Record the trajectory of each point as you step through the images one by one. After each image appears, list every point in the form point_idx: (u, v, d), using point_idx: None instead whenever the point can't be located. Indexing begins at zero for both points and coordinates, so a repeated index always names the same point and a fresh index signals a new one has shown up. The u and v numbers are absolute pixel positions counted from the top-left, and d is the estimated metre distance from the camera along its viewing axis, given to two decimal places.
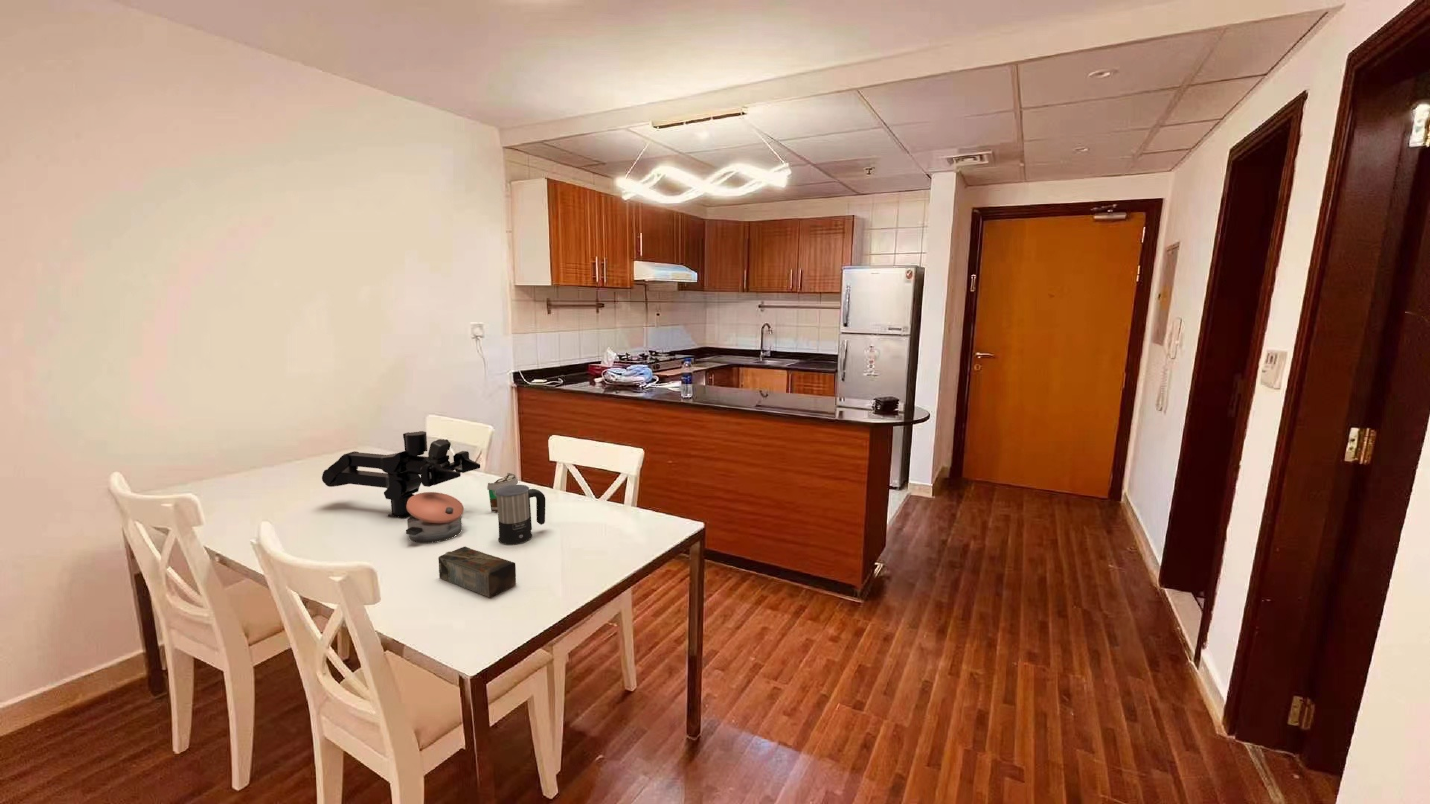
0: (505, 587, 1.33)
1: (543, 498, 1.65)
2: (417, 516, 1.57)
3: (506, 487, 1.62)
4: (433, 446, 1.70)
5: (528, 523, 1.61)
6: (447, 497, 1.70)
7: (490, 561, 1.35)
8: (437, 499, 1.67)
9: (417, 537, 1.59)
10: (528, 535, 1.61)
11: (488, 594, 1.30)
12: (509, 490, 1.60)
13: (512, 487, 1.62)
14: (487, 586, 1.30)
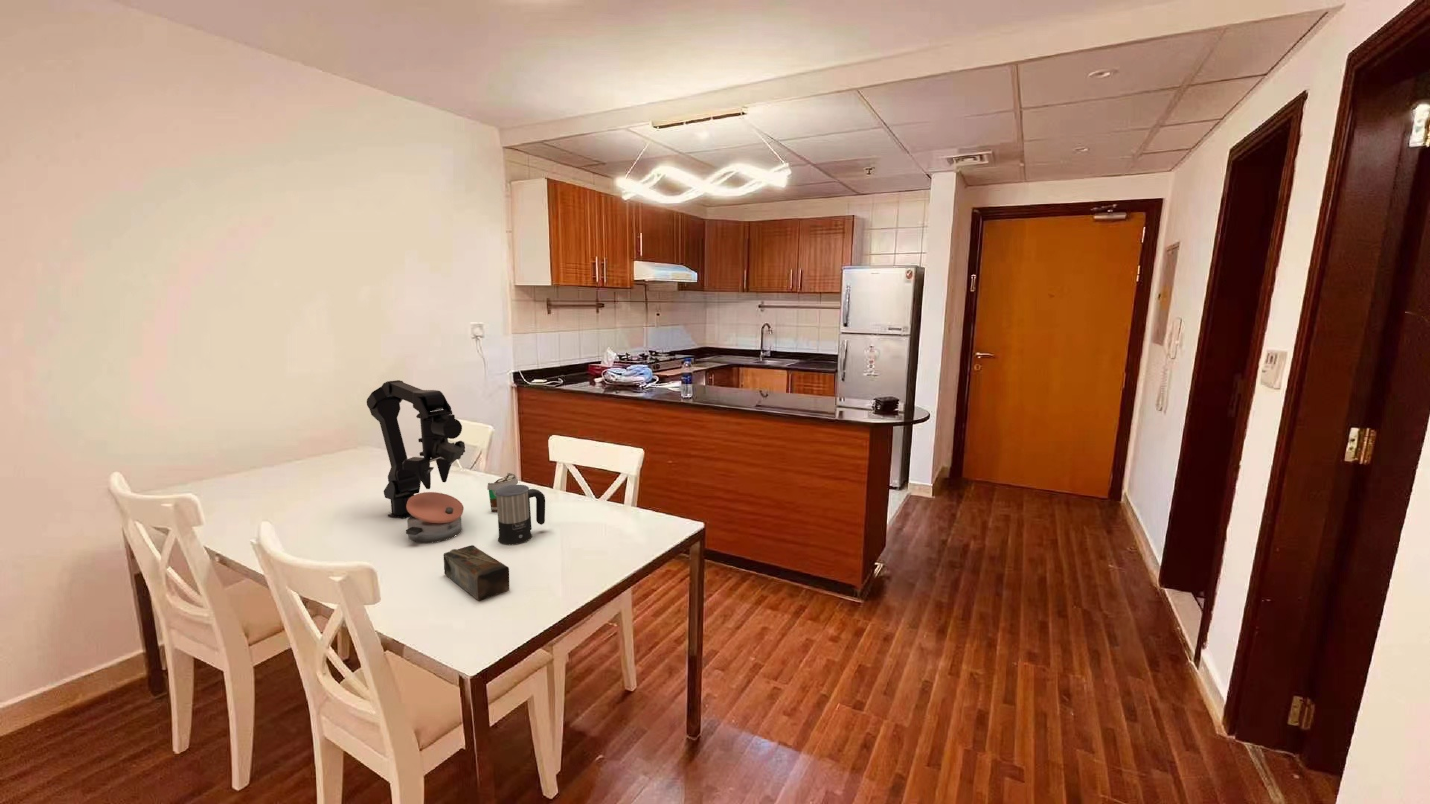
0: (496, 591, 1.31)
1: (543, 498, 1.65)
2: (417, 516, 1.57)
3: (506, 487, 1.62)
4: (449, 455, 1.62)
5: (528, 523, 1.61)
6: (447, 497, 1.70)
7: (485, 563, 1.34)
8: (437, 499, 1.67)
9: (417, 537, 1.59)
10: (528, 535, 1.61)
11: (477, 597, 1.29)
12: (509, 490, 1.60)
13: (512, 487, 1.62)
14: (476, 588, 1.29)
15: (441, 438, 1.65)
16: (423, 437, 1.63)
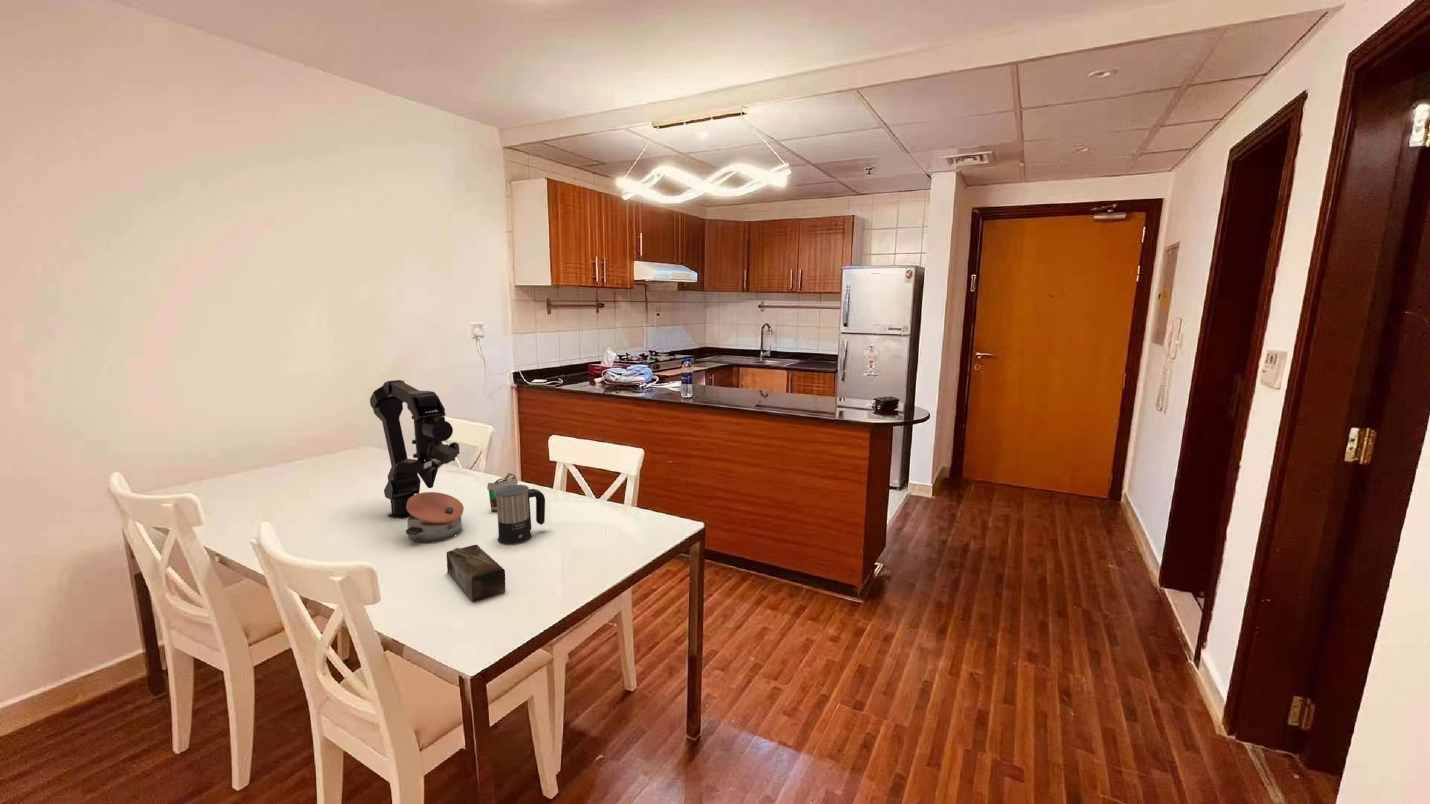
0: (491, 593, 1.30)
1: (543, 498, 1.65)
2: (417, 516, 1.57)
3: (506, 487, 1.62)
4: (443, 456, 1.60)
5: (528, 523, 1.61)
6: (447, 497, 1.70)
7: (483, 564, 1.34)
8: (437, 499, 1.67)
9: (417, 537, 1.59)
10: (528, 535, 1.61)
11: (471, 598, 1.28)
12: (509, 490, 1.60)
13: (512, 487, 1.62)
14: (471, 589, 1.28)
15: (435, 439, 1.63)
16: (417, 439, 1.60)
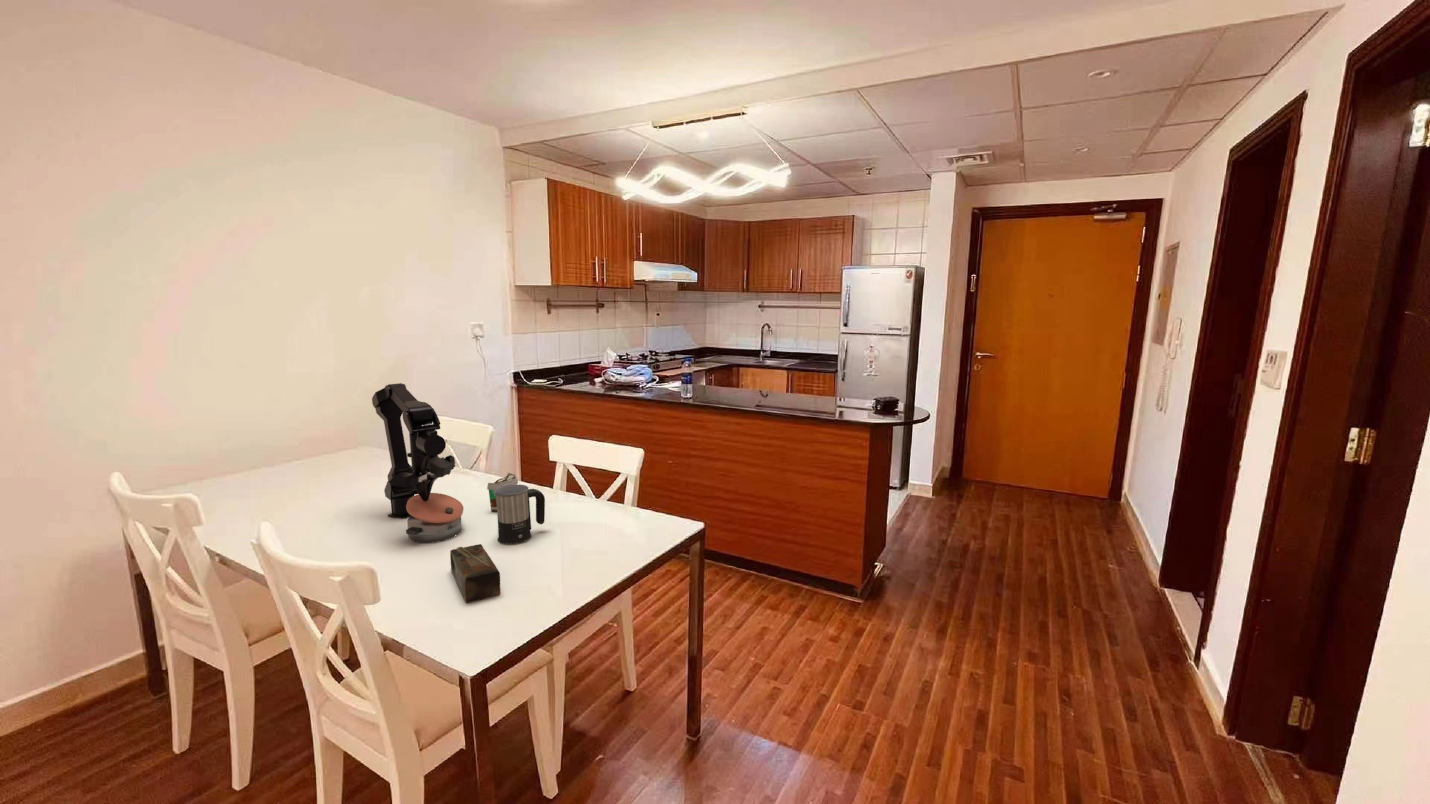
0: (485, 595, 1.30)
1: (542, 498, 1.65)
2: (417, 516, 1.57)
3: (505, 487, 1.62)
4: (438, 470, 1.59)
5: (527, 523, 1.61)
6: (447, 497, 1.70)
7: (480, 565, 1.33)
8: (437, 499, 1.67)
9: (417, 537, 1.59)
10: (527, 535, 1.61)
11: (465, 599, 1.28)
12: (509, 490, 1.60)
13: (512, 487, 1.62)
14: (464, 590, 1.28)
15: None
16: (412, 452, 1.60)
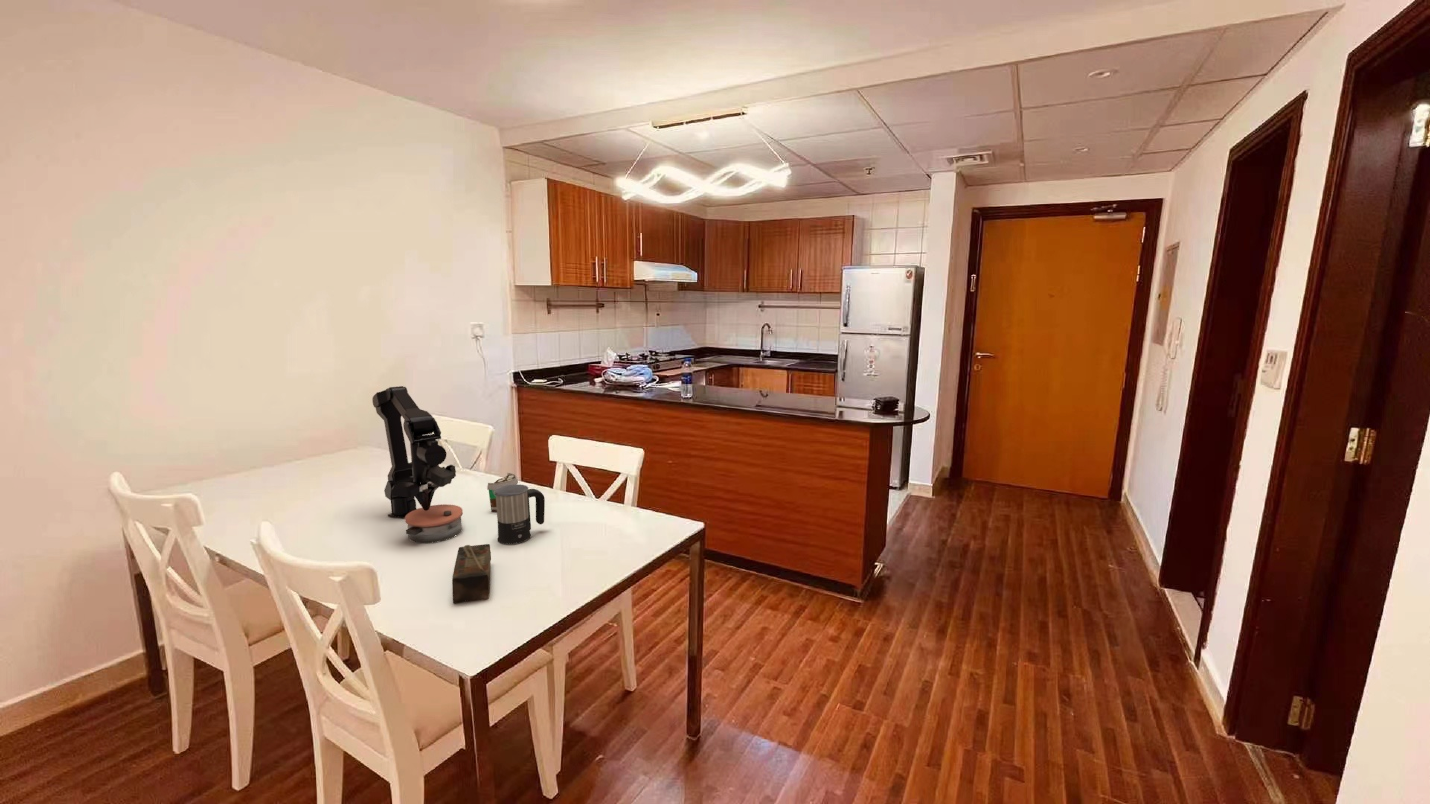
0: (472, 597, 1.28)
1: (542, 498, 1.65)
2: (416, 524, 1.57)
3: (505, 487, 1.62)
4: (439, 480, 1.59)
5: (527, 523, 1.62)
6: (445, 506, 1.71)
7: (473, 566, 1.32)
8: (435, 509, 1.68)
9: (417, 537, 1.59)
10: (527, 535, 1.61)
11: (453, 599, 1.28)
12: (508, 490, 1.60)
13: (512, 487, 1.62)
14: None
15: None
16: (413, 462, 1.60)
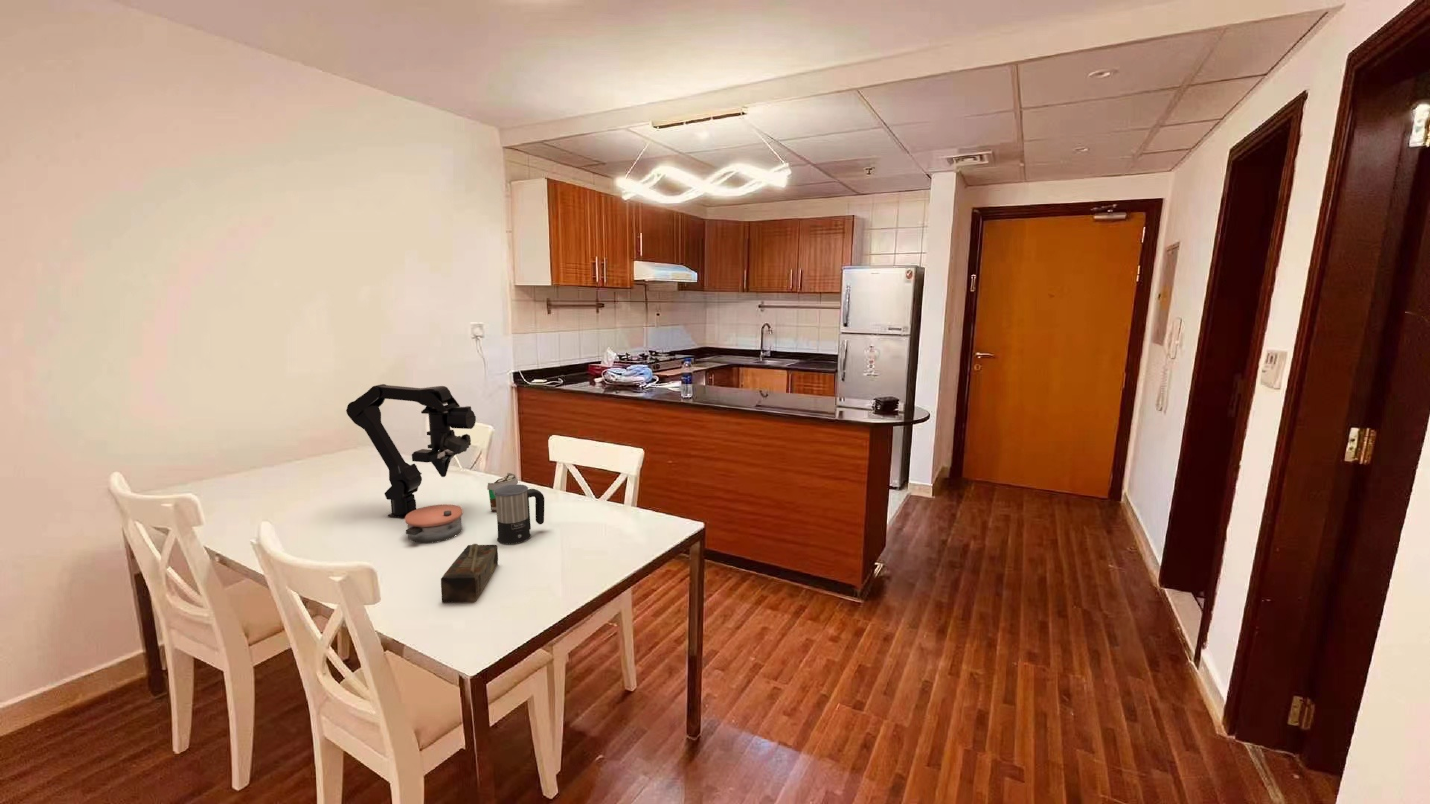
0: (460, 599, 1.28)
1: (542, 498, 1.65)
2: (416, 524, 1.57)
3: (505, 487, 1.62)
4: (456, 447, 1.70)
5: (527, 523, 1.62)
6: (445, 506, 1.71)
7: (467, 567, 1.32)
8: (435, 509, 1.68)
9: (417, 537, 1.59)
10: (527, 535, 1.62)
11: None
12: (508, 489, 1.60)
13: (511, 487, 1.62)
14: None
15: (448, 431, 1.73)
16: (431, 430, 1.71)
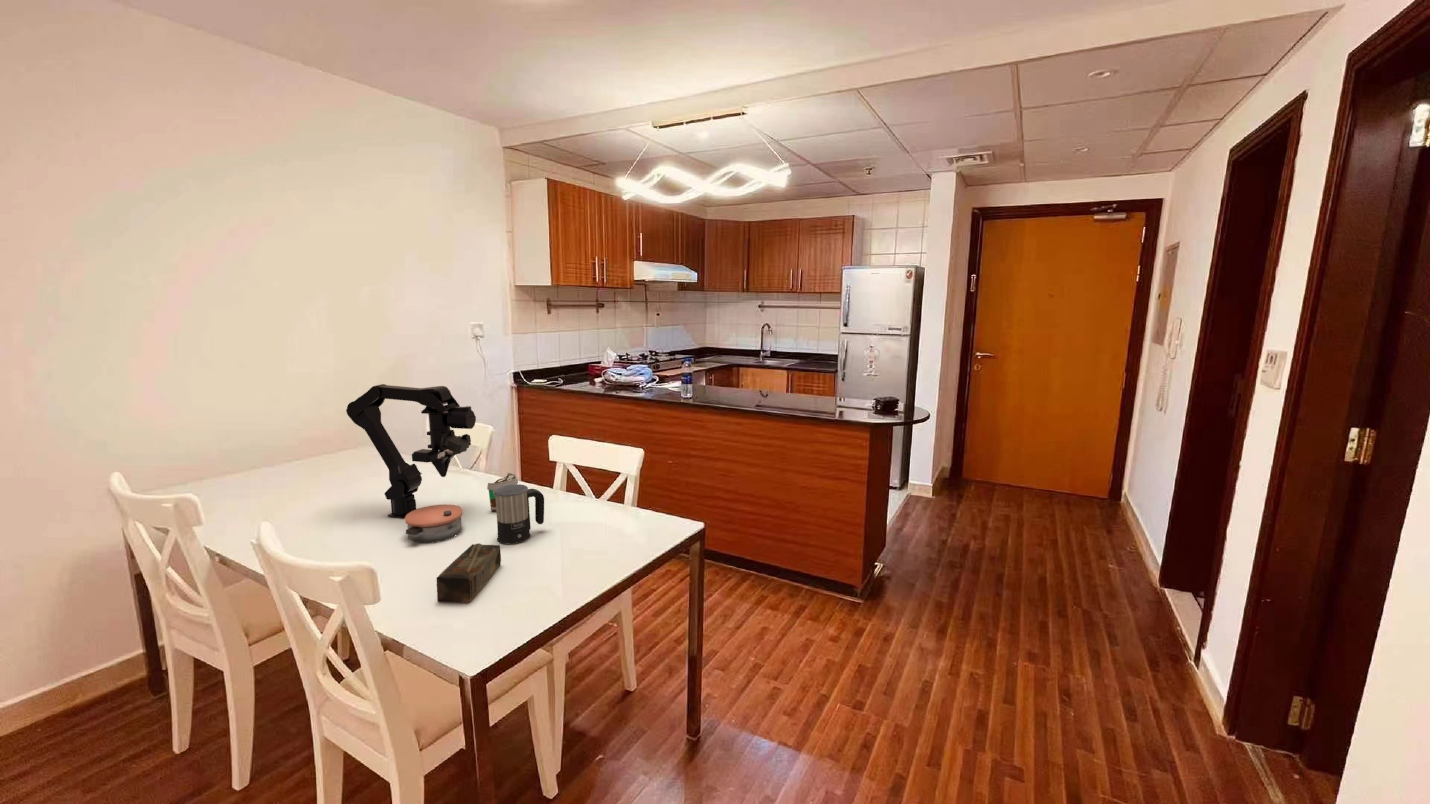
0: (454, 599, 1.28)
1: (542, 498, 1.65)
2: (416, 524, 1.57)
3: (505, 487, 1.62)
4: (456, 447, 1.71)
5: (527, 523, 1.62)
6: (445, 506, 1.71)
7: (464, 567, 1.32)
8: (435, 509, 1.68)
9: (417, 537, 1.59)
10: (527, 535, 1.62)
11: None
12: (508, 489, 1.60)
13: (511, 487, 1.62)
14: None
15: (448, 431, 1.73)
16: (431, 430, 1.71)
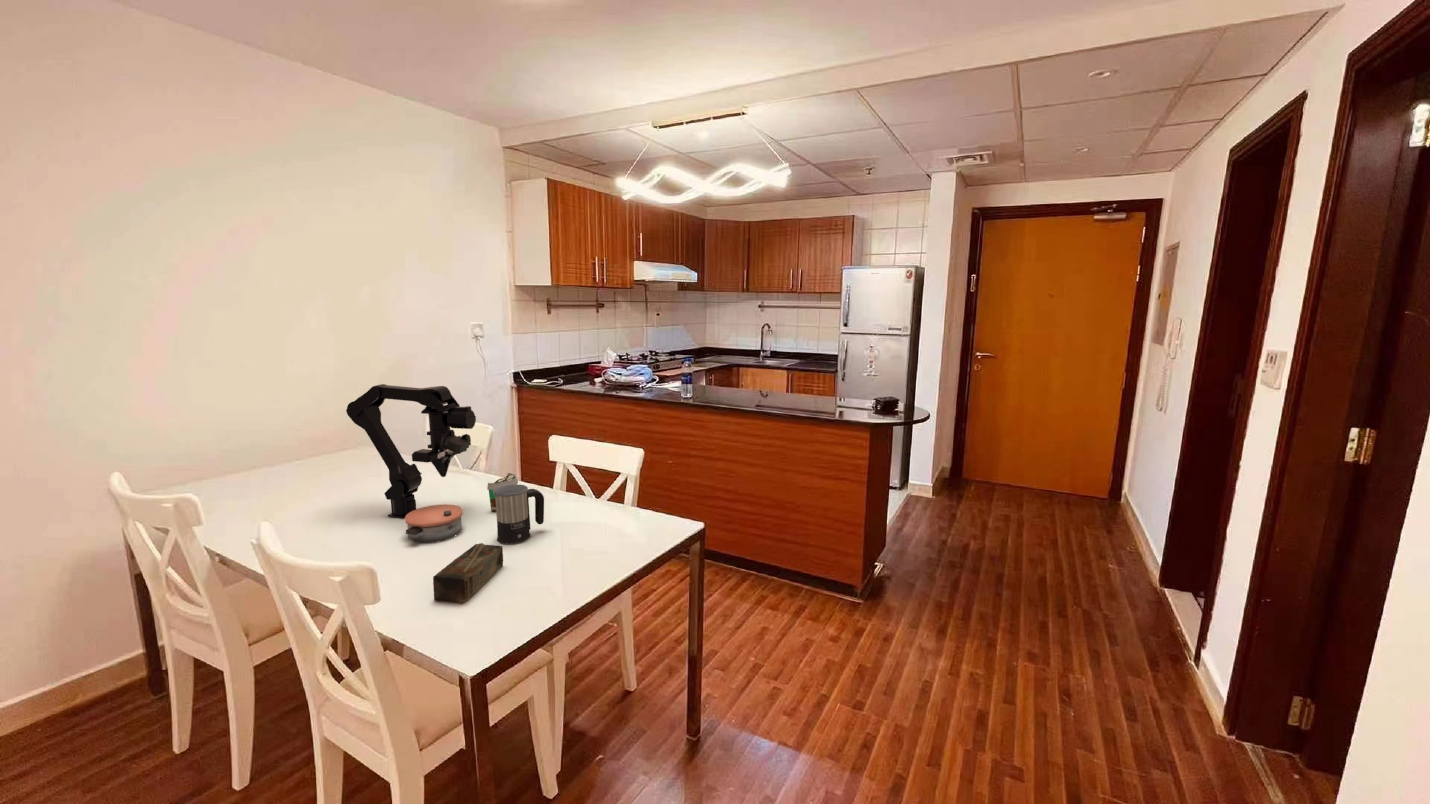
0: (450, 599, 1.28)
1: (542, 498, 1.65)
2: (416, 524, 1.57)
3: (505, 487, 1.62)
4: (456, 447, 1.71)
5: (526, 523, 1.62)
6: (445, 506, 1.71)
7: (462, 567, 1.32)
8: (435, 509, 1.68)
9: (417, 537, 1.59)
10: (526, 535, 1.62)
11: None
12: (508, 489, 1.60)
13: (511, 487, 1.62)
14: None
15: (448, 431, 1.73)
16: (431, 430, 1.71)
